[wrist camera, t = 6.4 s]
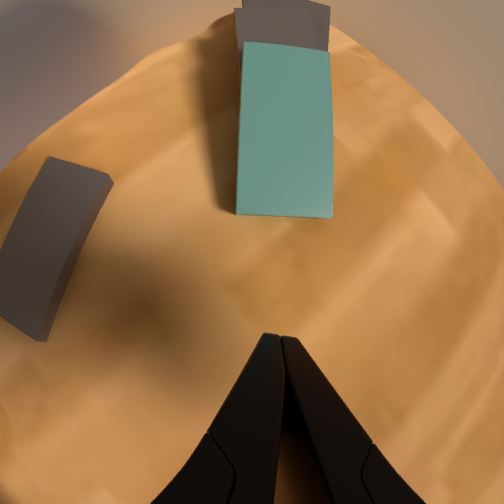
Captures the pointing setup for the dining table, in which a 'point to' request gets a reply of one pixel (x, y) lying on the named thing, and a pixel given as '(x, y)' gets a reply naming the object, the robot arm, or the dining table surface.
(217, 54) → the dining table surface
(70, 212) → the domino
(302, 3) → the domino
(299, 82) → the domino
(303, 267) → the dining table surface
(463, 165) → the dining table surface
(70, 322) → the dining table surface
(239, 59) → the domino
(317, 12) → the domino
